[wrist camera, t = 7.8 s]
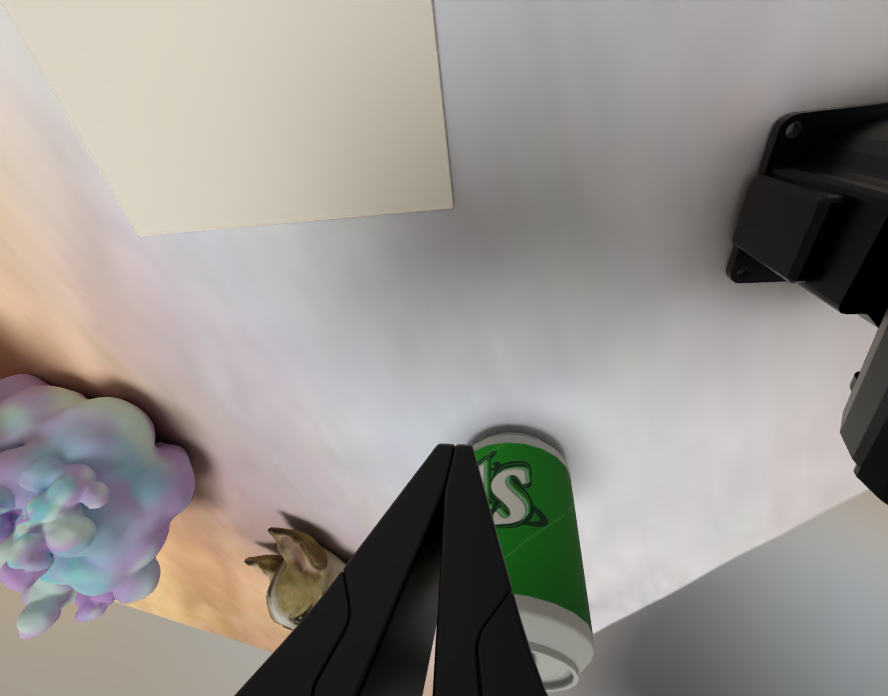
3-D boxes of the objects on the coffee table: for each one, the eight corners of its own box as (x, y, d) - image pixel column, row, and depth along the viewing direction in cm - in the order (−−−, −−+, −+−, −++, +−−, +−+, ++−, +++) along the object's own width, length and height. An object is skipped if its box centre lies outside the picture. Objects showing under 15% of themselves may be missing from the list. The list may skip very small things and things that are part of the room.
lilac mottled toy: (217, 574, 36) (-16, 812, 19) (15, 539, 37) (-388, 734, 20) (236, 376, 35) (3, 430, 17) (26, 344, 36) (-401, 365, 18)
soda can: (564, 420, 24) (597, 647, 14) (570, 491, 28) (600, 707, 18) (452, 426, 26) (413, 628, 16) (473, 491, 30) (452, 686, 20)
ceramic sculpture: (336, 686, 38) (204, 622, 35) (367, 595, 45) (259, 537, 43) (382, 669, 32) (228, 592, 30) (410, 568, 39) (287, 499, 37)
